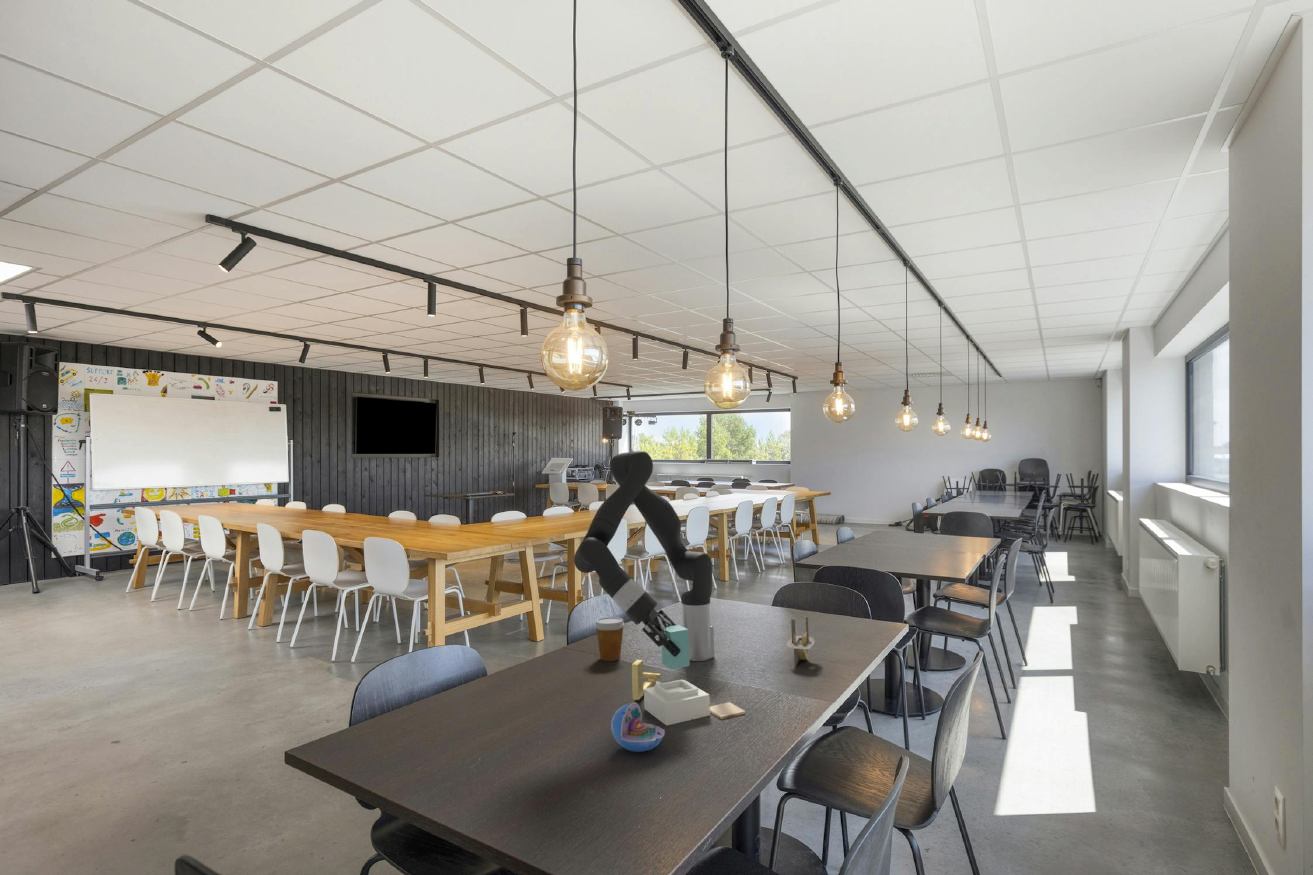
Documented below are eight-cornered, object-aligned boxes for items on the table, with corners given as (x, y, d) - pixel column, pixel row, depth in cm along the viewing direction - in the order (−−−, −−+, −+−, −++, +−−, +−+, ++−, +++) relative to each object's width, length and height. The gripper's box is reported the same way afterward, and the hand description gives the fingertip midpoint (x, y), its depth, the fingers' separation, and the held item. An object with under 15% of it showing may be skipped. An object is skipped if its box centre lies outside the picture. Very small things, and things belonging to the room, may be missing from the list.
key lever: (644, 681, 181) (644, 648, 182) (661, 682, 180) (660, 649, 180) (626, 699, 168) (625, 663, 168) (644, 701, 166) (643, 665, 167)
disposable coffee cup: (627, 653, 210) (626, 616, 211) (622, 662, 201) (621, 623, 201) (598, 653, 211) (597, 616, 212) (592, 662, 202) (591, 623, 202)
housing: (685, 699, 168) (685, 675, 168) (710, 715, 158) (709, 689, 158) (644, 708, 163) (643, 683, 163) (666, 725, 152) (665, 698, 152)
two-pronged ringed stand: (841, 655, 204) (840, 610, 204) (831, 681, 181) (829, 630, 181) (775, 649, 212) (774, 606, 212) (758, 673, 189) (756, 624, 189)
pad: (729, 704, 164) (729, 701, 164) (745, 713, 158) (745, 711, 158) (706, 709, 161) (706, 707, 161) (721, 719, 155) (721, 716, 155)
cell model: (653, 763, 133) (652, 716, 133) (603, 754, 138) (602, 708, 138) (673, 744, 142) (671, 700, 142) (625, 735, 147) (624, 693, 147)
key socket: (656, 680, 183) (656, 679, 183) (666, 687, 178) (666, 685, 178) (637, 684, 181) (637, 683, 181) (646, 691, 175) (646, 689, 175)
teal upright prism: (679, 660, 164) (678, 624, 164) (689, 665, 160) (688, 629, 160) (662, 663, 162) (661, 627, 162) (671, 669, 157) (670, 632, 158)
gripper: (636, 597, 156) (686, 647, 153) (651, 585, 170) (696, 631, 167) (616, 618, 157) (665, 669, 154) (632, 604, 171) (677, 650, 168)
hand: (681, 649), depth 161 cm, fingers closed on teal upright prism, 7 cm apart
